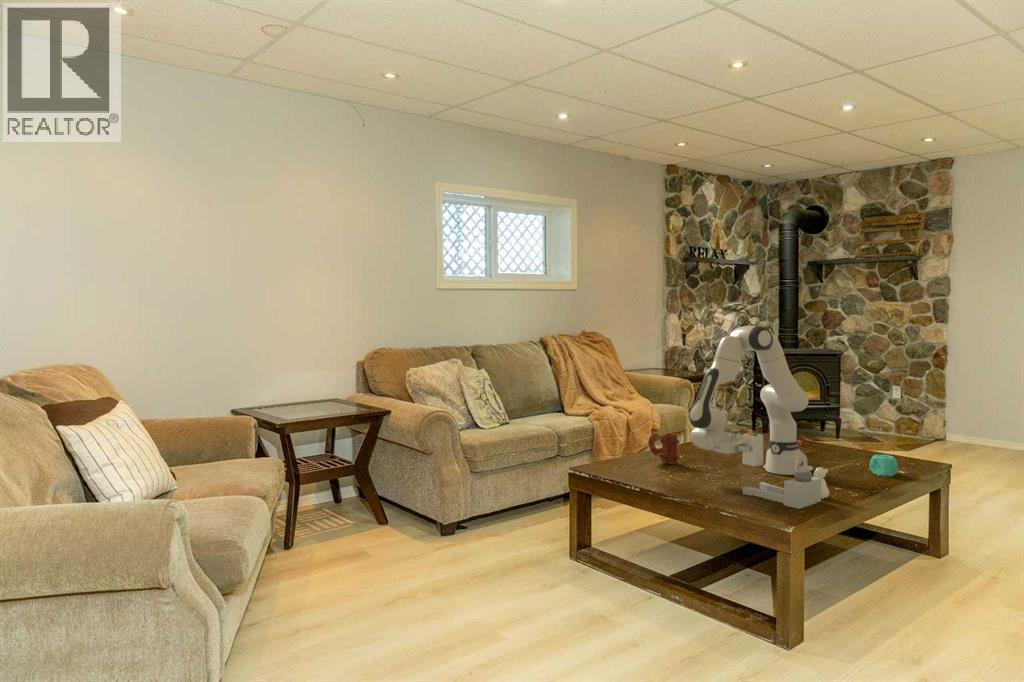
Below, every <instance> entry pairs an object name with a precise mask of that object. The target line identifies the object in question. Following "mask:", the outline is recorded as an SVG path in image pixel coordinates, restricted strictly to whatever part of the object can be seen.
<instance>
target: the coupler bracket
mask: <svg viewBox="0 0 1024 682" xmlns="http://www.w3.org/2000/svg"><path fill="white" fill-rule="evenodd" d="M812 475H813V473H812V472H811V471H805V470H796V471H794V475H793V476H794V478H792V479H789V480H785V481H784V483H783V484H784V486H783V487H781V486H776V485H773V484H769V483H766V482H764V481H761V482H759V488H754V487H747V486H744V487H742V495H745V494H746V496H752V495H753V496H752V497H757V496H758V498H761V497H762V499H765V500H769V501H773V502H776V501H777V503H780V502H781V504H783V505H784V506H785V507H790V508H794V509H798V510H800V509H803V508H806V507H810V506H812V505H815V504H818V503H821V502H820V501H822V499H821V478H817V477H814V476H812ZM817 502H818V503H817Z"/></svg>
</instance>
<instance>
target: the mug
mask: <svg viewBox="0 0 1024 682" xmlns="http://www.w3.org/2000/svg"><path fill="white" fill-rule="evenodd" d="M659 440H660V441H659ZM657 441H659V442H660V443H661V447H660V448H657V447H656V446H655V442H657ZM679 444H680V441H679V439H678V434H677V433H673V432H672V433H670V432H666V433H663V434H660V433H658V432H657V431H654V432H652V433H651V434H650V435H649V436H648V447H649V450H650V451H651V453H652V454H653V455H654V456H658V455H659V458H660V462H661V463H663V464H665V463H669V464H673V463H676V464H677V463H678V460H679V459H680V456H679V454H678V445H679ZM669 464H668V465H669ZM673 465H674V464H673Z"/></svg>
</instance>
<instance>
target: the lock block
mask: <svg viewBox="0 0 1024 682" xmlns="http://www.w3.org/2000/svg"><path fill="white" fill-rule="evenodd" d="M742 435H743V446H745V447H747V446H748V447H751V451H749V452H746V451H742V460H741V461H742V462H741V463H742V464H743V465H746V466H752V467H759V466H764V434H761V433H755V432H754V433H753V429H752V428H751V429H748V431H747V433H746V432H745V433H742Z"/></svg>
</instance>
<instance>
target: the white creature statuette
mask: <svg viewBox="0 0 1024 682" xmlns="http://www.w3.org/2000/svg"><path fill="white" fill-rule="evenodd" d="M828 472H829V469H827V468H826V469H824V468H823V467H821V466H819V467H816V468H815V470H814V473H812V475H813V476H812V477H817V478H821V500H825V499H824V498H826V499H828V497H829V496H830V490H829V488H828V486H827V482H826V480H825V477H826V475H827V473H828Z"/></svg>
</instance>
